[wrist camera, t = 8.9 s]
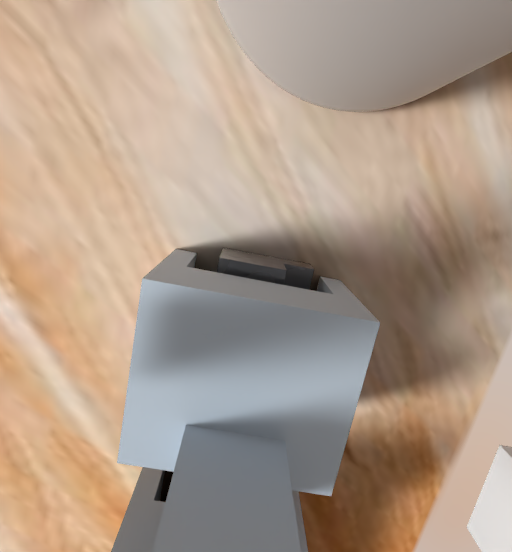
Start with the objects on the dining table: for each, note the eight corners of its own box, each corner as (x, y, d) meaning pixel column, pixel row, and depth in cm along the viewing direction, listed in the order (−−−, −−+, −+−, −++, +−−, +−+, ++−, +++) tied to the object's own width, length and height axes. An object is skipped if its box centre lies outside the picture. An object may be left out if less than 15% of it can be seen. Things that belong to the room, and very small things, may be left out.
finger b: (175, 248, 19) (76, 337, 8) (340, 280, 19) (457, 403, 8) (154, 390, 20) (47, 624, 9) (305, 416, 21) (366, 665, 10)
